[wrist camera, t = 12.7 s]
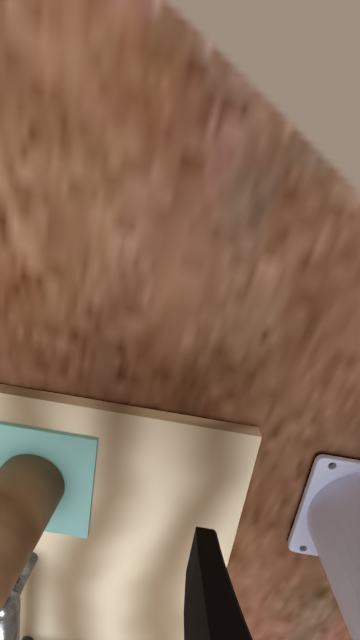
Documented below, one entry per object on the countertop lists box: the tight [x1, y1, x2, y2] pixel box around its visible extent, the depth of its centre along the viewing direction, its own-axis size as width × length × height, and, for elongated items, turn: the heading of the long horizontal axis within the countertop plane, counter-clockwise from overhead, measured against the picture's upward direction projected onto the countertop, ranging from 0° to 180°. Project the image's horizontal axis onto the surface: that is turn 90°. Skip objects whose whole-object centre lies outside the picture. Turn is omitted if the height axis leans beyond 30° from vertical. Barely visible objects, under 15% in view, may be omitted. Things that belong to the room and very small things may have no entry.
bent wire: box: [0, 552, 38, 640], centre depth 21 cm, size 8×11×4 cm
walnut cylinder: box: [0, 454, 65, 610], centre depth 17 cm, size 4×4×6 cm
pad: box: [0, 421, 99, 538], centre depth 20 cm, size 8×8×1 cm
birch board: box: [0, 384, 262, 640], centre depth 22 cm, size 20×26×1 cm
